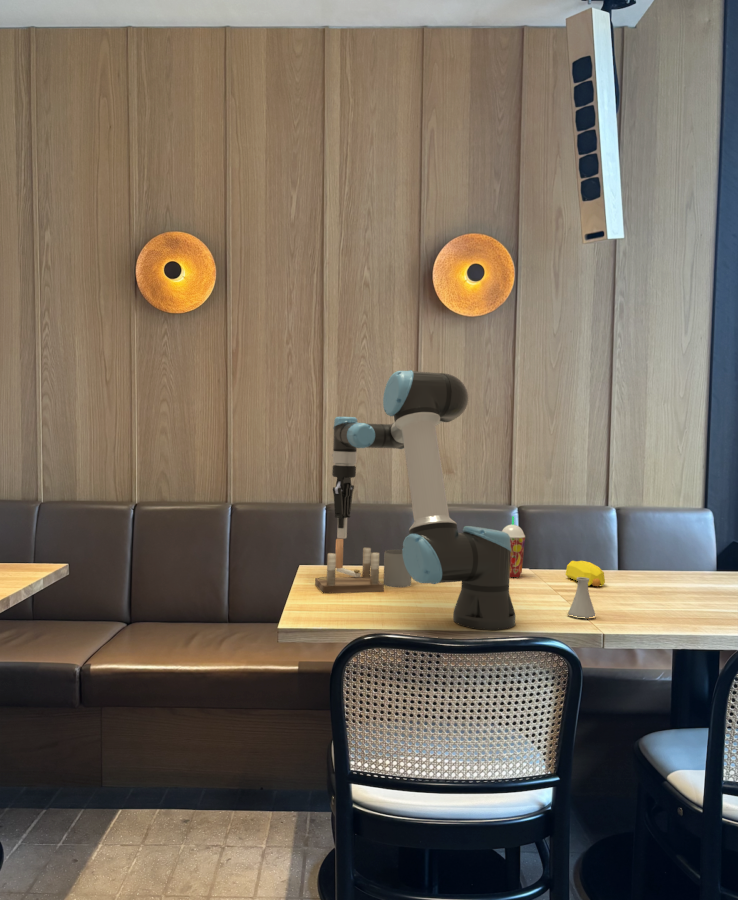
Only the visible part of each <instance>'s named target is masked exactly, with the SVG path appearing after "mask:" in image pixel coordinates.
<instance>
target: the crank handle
mask: <svg viewBox="0 0 738 900" xmlns="http://www.w3.org/2000/svg"><path fill="white" fill-rule="evenodd" d="M335 554H336V570H335V572H338V573H340V574H341V573H342V574H344V575H347V576H349V577H362V576H361V573H362V572H359V573H355V572H354V570H351V569H348V568H344V539H343V538H336V539H335Z"/></svg>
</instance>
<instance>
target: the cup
mask: <svg viewBox="0 0 738 900" xmlns="http://www.w3.org/2000/svg"><path fill="white" fill-rule="evenodd" d="M383 560H384V562H383V584H384V586H386V587H390V588H407V587H408V588H409V587H411V586H412V577H411V576H410V575H409V573H408V571H407V569H406V567H405V564H404V560H403V554H402V549H387V550H386V549H385V551H384V556H383Z"/></svg>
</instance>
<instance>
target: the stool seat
mask: <svg viewBox="0 0 738 900" xmlns="http://www.w3.org/2000/svg"><path fill="white" fill-rule="evenodd" d="M335 553H336V552H335ZM335 553H334V552H328V553H327V560H326V563H327V565H326V576H319V577H315V579H314V585H315V586H316V587H317V588H318V589H319V591H320V590H321V591H322V592H323V593H322V592H321V591H320V592H321V593H322V594H346V593H349V594H351V593H353V594H354V593H376V592H377V593H378V592H379V593H380V592H381V593H382V592H384V591H385V585H384V583H382V582H381V581H380V578H379V577H380V576H379V575H380V570H379V569H380V552H375V551H373V552H372V548H371V547H363V548H362V572H361V571H360V569H354V570H353V571H354V572H355V573H362V576H361V577H353V576H343V577H341V576H339V577H337V576H336V554H335Z"/></svg>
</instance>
